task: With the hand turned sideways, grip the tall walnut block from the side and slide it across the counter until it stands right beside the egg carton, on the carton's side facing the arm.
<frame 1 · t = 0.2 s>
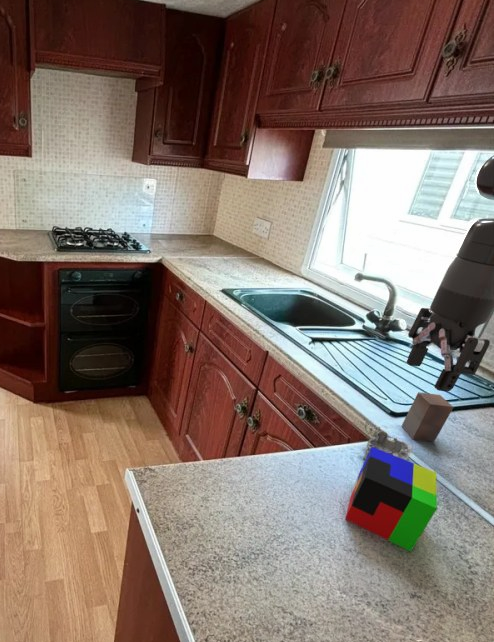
hand: (426, 376, 71), 24 cm above the countertop, tool pointing down, fingers open, 8 cm apart
puzzle toy: (379, 516, 73), on the countertop
walnut block: (417, 433, 97), on the countertop
egg carton: (384, 458, 88), on the countertop
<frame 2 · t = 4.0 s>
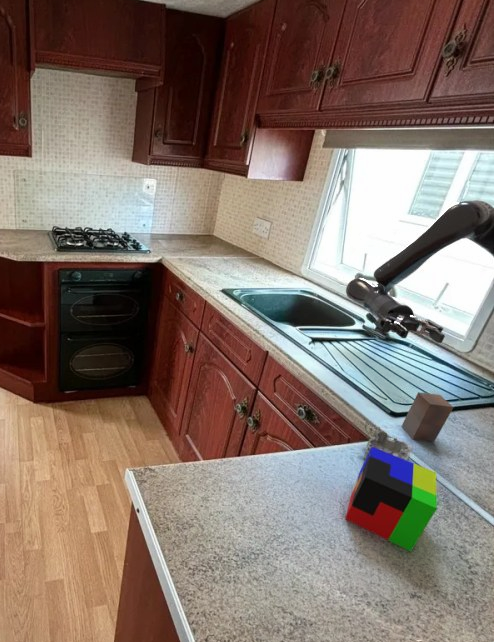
hand: (423, 337, 99), 20 cm above the countertop, tool horizontal, fingers open, 8 cm apart
nothing on the countertop moved.
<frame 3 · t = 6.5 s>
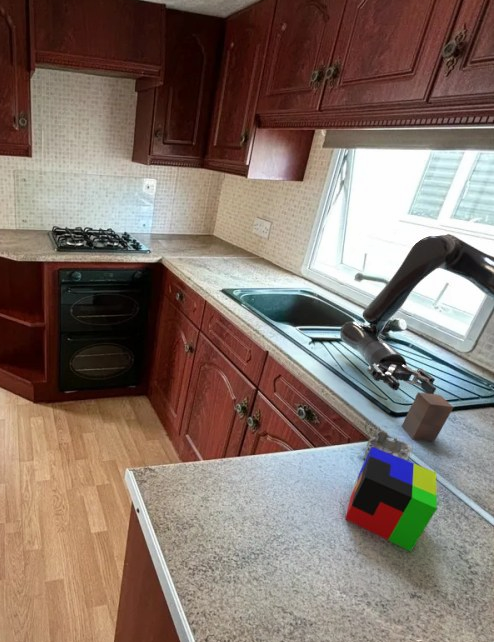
hand: (415, 389, 100), 8 cm above the countertop, tool horizontal, fingers open, 8 cm apart
nothing on the countertop moved.
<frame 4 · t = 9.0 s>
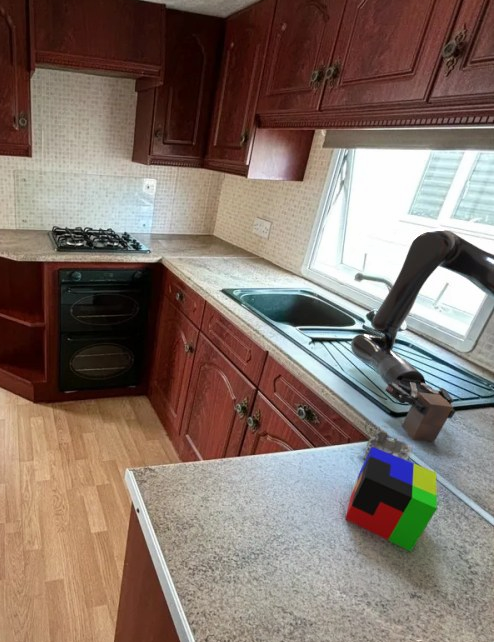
hand: (438, 413, 91), 8 cm above the countertop, tool horizontal, fingers closed on walnut block, 5 cm apart
walnut block: (417, 433, 97), on the countertop, touching gripper
everything else where it was.
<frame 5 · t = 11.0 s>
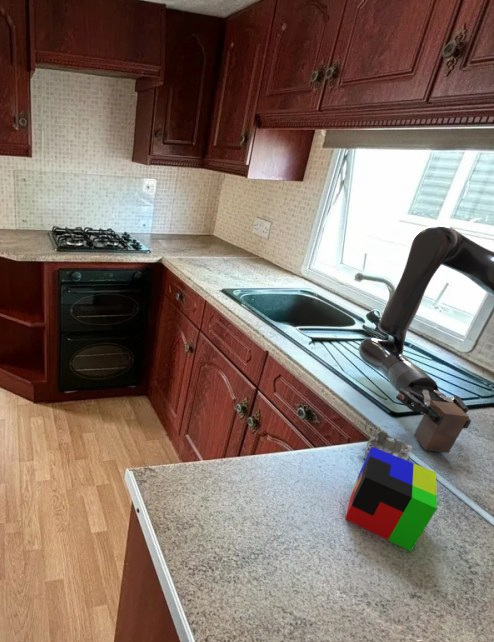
hand: (453, 423, 87), 9 cm above the countertop, tool horizontal, fingers closed on walnut block, 5 cm apart
walnut block: (430, 444, 92), point 1 cm above the countertop, touching gripper
everything else where it was.
when the fingers open (8 cm above the countertop, at t = 13.4 s): walnut block stays where it is, on the countertop.
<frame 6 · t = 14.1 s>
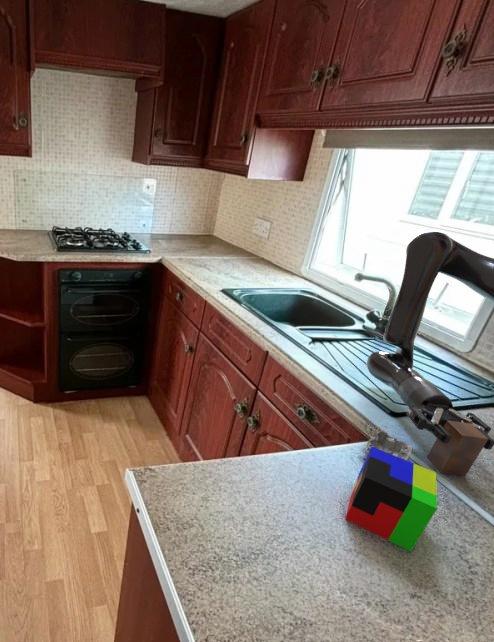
hand: (469, 443, 82), 8 cm above the countertop, tool horizontal, fingers open, 8 cm apart
walnut block: (445, 466, 87), on the countertop
everything else where it was.
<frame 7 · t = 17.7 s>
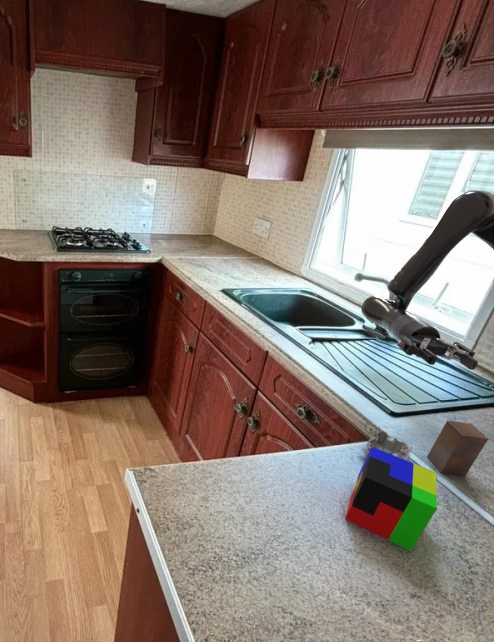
hand: (454, 363, 88), 19 cm above the countertop, tool horizontal, fingers open, 8 cm apart
nothing on the countertop moved.
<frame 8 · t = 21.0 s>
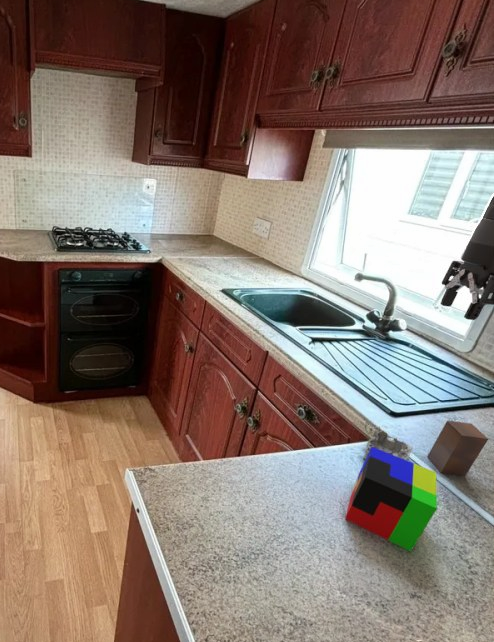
hand: (456, 312, 93), 28 cm above the countertop, tool pointing down, fingers open, 8 cm apart
nothing on the countertop moved.
at the end: walnut block inside the target area on the countertop beside the egg carton (0.1 cm from its centre), on the countertop; walnut block tilted 0°; egg carton moved 0.2 cm from its start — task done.
